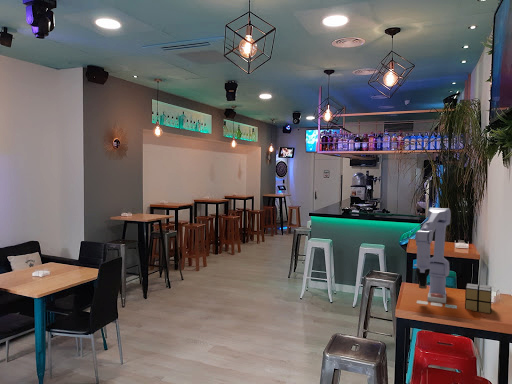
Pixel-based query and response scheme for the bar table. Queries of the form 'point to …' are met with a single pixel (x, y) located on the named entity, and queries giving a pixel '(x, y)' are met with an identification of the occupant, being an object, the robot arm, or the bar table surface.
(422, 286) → the pawn
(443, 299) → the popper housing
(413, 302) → the bar table surface
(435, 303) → the board
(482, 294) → the puzzle cube
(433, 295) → the button
